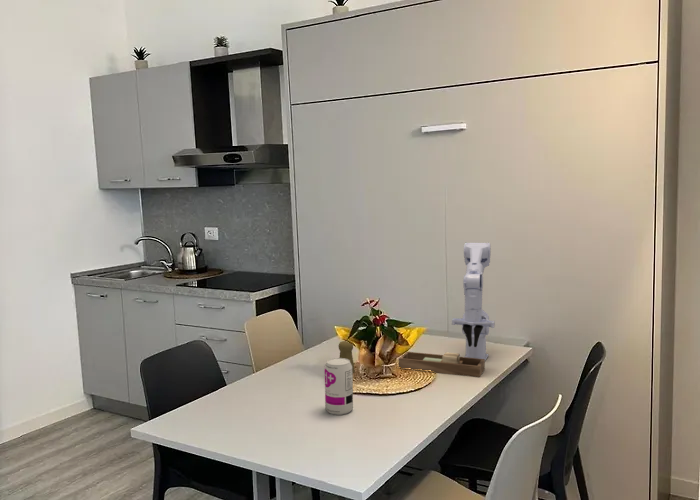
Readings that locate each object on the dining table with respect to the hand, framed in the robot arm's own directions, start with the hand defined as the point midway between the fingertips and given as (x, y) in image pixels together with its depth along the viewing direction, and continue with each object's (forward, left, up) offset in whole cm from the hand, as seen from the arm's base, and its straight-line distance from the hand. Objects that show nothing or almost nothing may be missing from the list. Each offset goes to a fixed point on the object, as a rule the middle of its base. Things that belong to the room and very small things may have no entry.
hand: (472, 346), depth 217 cm
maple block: (0, -8, -7) cm, 10 cm away
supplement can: (+48, -30, -10) cm, 58 cm away
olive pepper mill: (+14, -42, -10) cm, 45 cm away
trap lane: (0, -11, -9) cm, 15 cm away
